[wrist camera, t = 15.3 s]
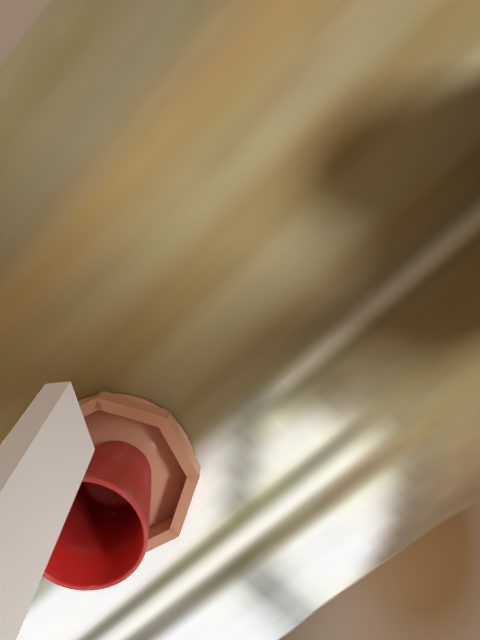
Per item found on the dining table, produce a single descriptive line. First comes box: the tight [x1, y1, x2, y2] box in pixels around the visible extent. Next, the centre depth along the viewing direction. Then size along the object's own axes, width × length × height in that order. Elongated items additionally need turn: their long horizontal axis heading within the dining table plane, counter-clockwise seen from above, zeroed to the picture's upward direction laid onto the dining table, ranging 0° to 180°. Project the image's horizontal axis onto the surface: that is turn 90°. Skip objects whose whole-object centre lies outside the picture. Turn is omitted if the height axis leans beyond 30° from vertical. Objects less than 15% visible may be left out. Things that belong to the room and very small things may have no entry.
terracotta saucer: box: [78, 391, 200, 553], centre depth 40 cm, size 18×18×3 cm
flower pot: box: [43, 441, 151, 590], centre depth 36 cm, size 11×11×10 cm
